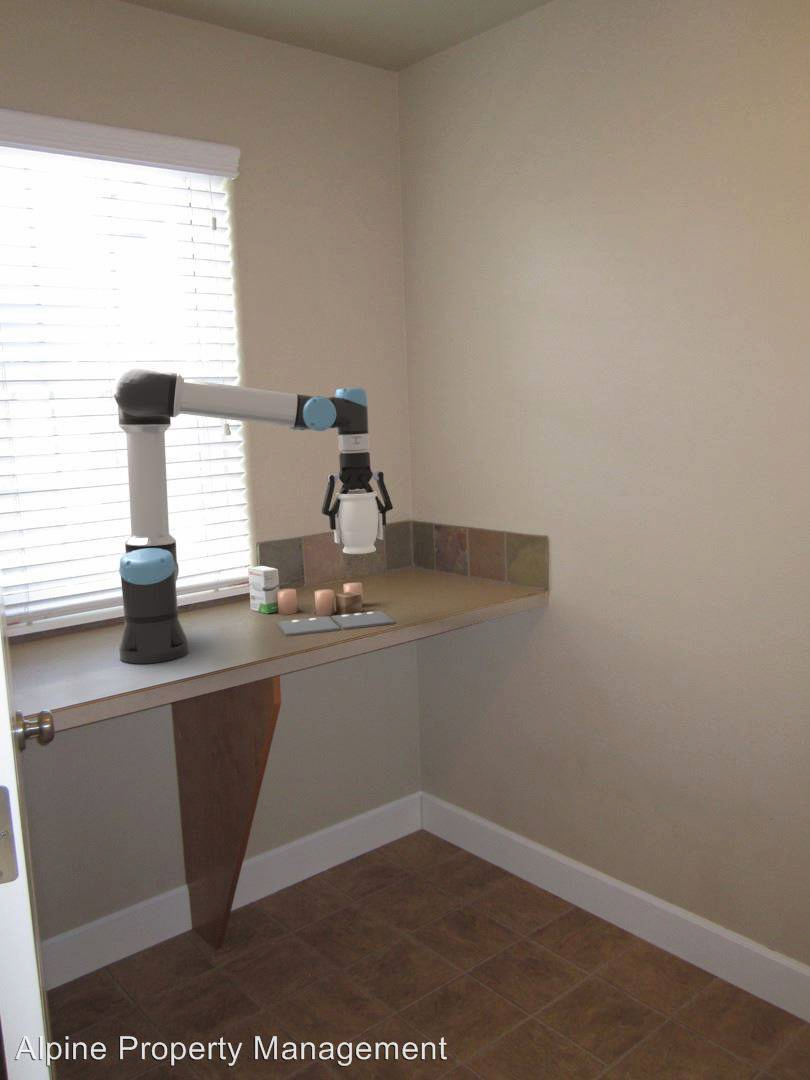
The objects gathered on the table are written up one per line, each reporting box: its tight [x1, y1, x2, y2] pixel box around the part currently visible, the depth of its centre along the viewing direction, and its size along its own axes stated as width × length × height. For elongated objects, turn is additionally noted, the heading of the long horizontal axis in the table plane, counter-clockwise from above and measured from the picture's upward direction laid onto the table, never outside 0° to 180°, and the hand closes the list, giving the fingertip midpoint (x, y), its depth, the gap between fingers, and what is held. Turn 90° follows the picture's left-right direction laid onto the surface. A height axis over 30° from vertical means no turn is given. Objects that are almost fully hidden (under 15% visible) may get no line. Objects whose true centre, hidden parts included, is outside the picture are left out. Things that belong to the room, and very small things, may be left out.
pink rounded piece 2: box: [342, 582, 364, 607], centre depth 241 cm, size 5×5×6 cm
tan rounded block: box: [277, 588, 298, 616], centre depth 237 cm, size 5×5×6 cm
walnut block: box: [334, 592, 363, 615], centre depth 234 cm, size 5×5×5 cm
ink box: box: [247, 565, 280, 615], centre depth 240 cm, size 9×5×12 cm, turn 39°
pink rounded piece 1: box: [314, 588, 336, 617], centre depth 234 cm, size 5×5×6 cm
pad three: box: [331, 610, 395, 630], centre depth 224 cm, size 13×13×1 cm
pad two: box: [277, 616, 340, 637], centre depth 220 cm, size 13×13×1 cm
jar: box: [335, 489, 379, 555], centre depth 221 cm, size 11×10×15 cm
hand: (358, 540), depth 221 cm, fingers closed on jar, 10 cm apart
